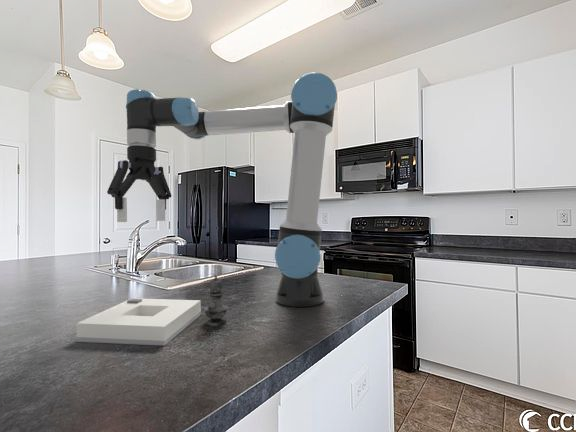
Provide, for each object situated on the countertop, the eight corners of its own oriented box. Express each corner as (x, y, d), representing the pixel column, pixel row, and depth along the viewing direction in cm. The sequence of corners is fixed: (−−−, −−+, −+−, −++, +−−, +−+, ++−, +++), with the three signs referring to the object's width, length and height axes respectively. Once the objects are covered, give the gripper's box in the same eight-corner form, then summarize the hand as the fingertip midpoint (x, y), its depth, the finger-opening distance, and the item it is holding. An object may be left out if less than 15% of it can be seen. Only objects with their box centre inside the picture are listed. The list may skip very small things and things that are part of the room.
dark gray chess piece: (222, 327, 76) (221, 278, 76) (199, 325, 78) (199, 277, 78) (231, 319, 82) (231, 273, 82) (210, 317, 83) (210, 272, 83)
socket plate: (200, 314, 85) (200, 298, 85) (164, 345, 66) (164, 323, 66) (131, 312, 88) (131, 296, 87) (76, 341, 68) (76, 320, 68)
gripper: (164, 155, 102) (165, 220, 102) (90, 139, 79) (91, 222, 79) (182, 153, 99) (183, 220, 99) (111, 135, 76) (112, 222, 76)
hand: (142, 221), depth 89 cm, fingers open, 13 cm apart
